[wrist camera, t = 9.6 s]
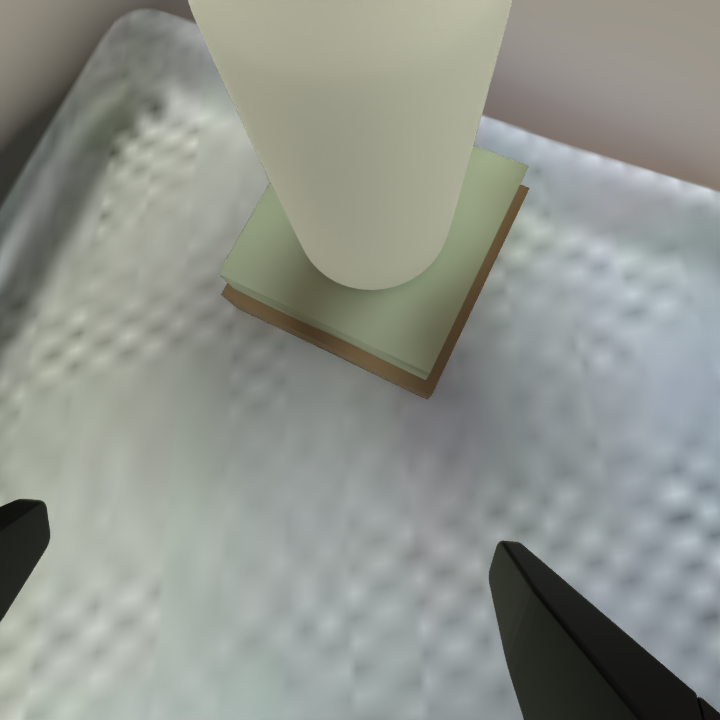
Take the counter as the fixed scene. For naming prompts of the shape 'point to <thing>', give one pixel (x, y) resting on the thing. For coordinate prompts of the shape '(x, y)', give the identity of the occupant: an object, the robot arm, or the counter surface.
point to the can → (360, 118)
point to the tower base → (385, 306)
